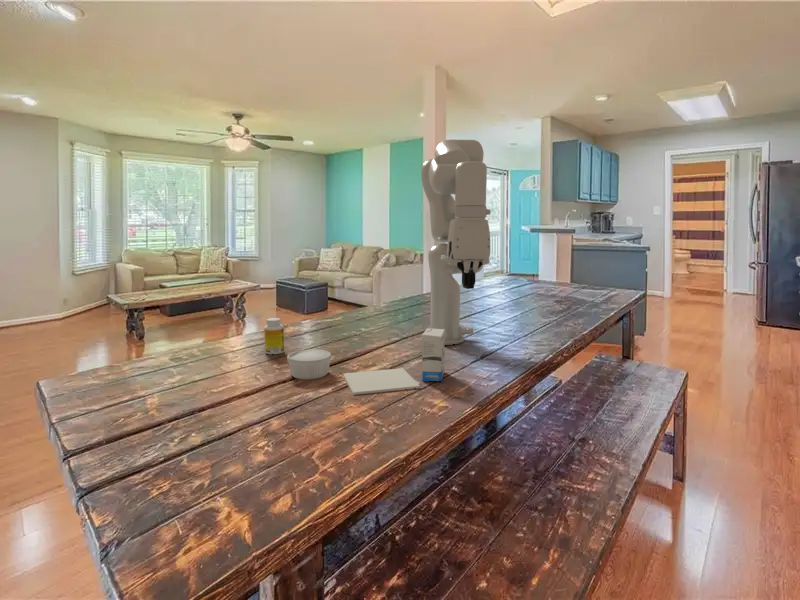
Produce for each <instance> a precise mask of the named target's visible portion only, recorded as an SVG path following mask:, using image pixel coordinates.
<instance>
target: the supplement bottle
mask: <svg viewBox="0 0 800 600" xmlns="http://www.w3.org/2000/svg"><path fill="white" fill-rule="evenodd" d="M281 322H282V321H281V318H280V317H279V318H278V317H271V318H266V325H264V327H263V330H264V332H263V333H264V337H263V338H264V351H265V353H266V354H267V355H272V354H274V355H280V354H283V353H284V352H285V338H284V337H285V333H284V325H282V324H281Z"/></svg>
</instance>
